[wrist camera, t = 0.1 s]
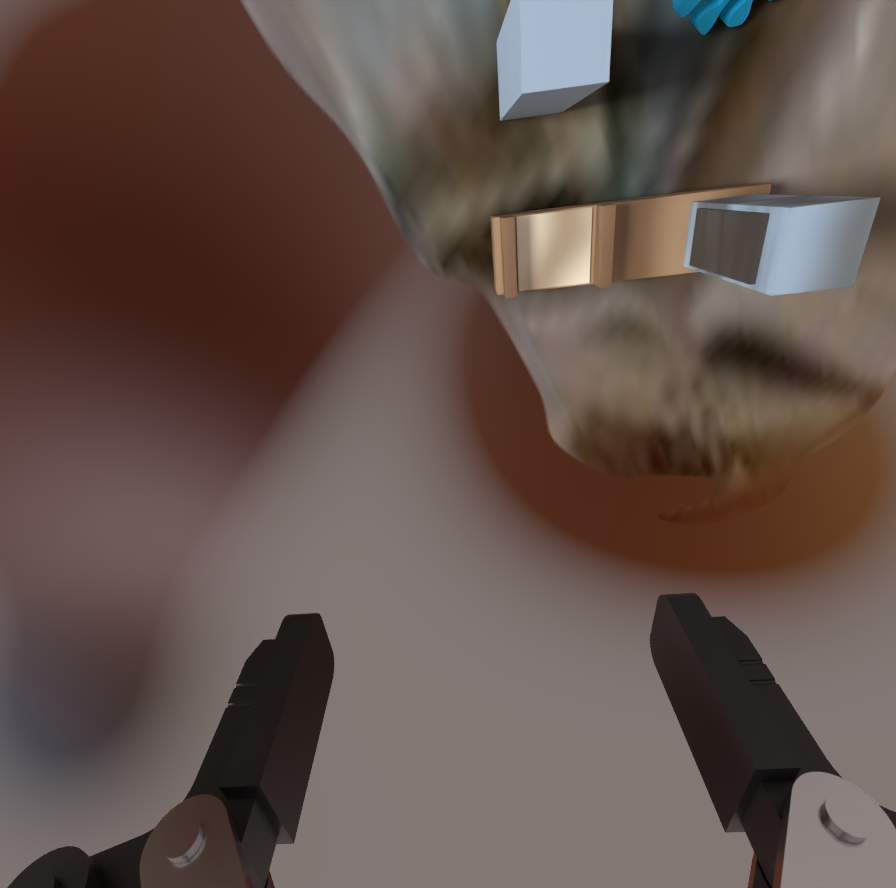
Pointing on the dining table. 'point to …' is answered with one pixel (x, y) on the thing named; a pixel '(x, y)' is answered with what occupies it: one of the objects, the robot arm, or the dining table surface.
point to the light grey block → (552, 55)
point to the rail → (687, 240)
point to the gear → (713, 12)
